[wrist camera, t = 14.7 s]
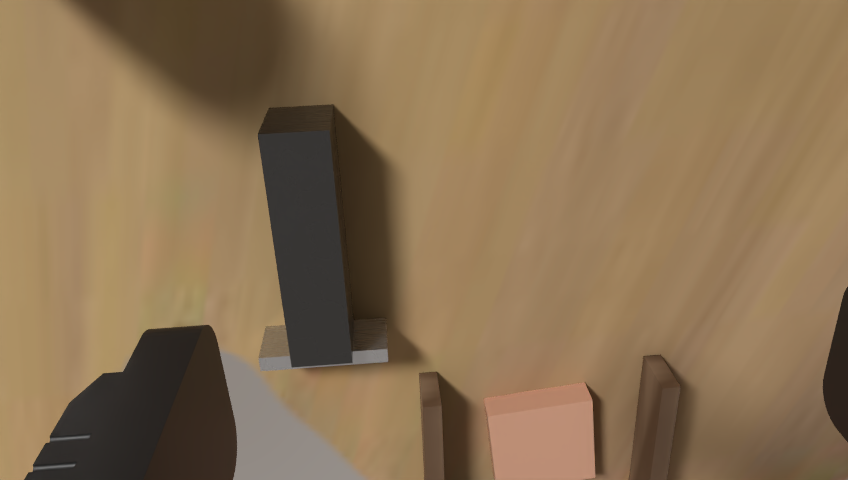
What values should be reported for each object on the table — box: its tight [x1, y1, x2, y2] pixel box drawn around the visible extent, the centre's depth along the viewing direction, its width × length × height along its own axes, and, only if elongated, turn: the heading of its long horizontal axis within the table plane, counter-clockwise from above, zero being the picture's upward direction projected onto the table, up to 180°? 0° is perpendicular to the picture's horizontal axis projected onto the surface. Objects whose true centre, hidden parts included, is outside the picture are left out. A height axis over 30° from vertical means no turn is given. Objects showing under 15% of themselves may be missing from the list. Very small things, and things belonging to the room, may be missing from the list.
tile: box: [484, 382, 595, 480], centre depth 44 cm, size 6×6×2 cm
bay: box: [419, 355, 681, 480], centre depth 43 cm, size 14×12×3 cm
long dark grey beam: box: [258, 104, 388, 371], centre depth 35 cm, size 6×13×4 cm, turn 2°
